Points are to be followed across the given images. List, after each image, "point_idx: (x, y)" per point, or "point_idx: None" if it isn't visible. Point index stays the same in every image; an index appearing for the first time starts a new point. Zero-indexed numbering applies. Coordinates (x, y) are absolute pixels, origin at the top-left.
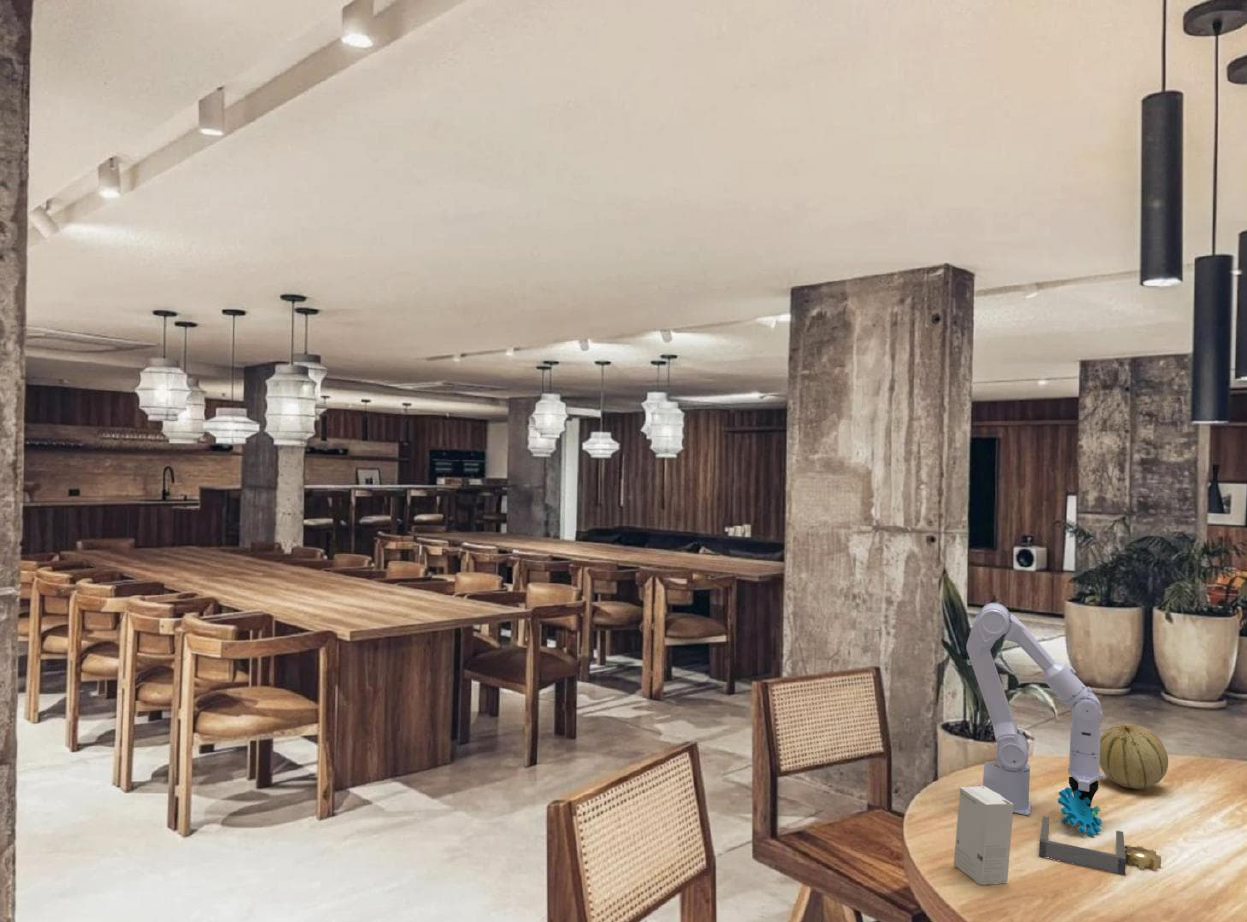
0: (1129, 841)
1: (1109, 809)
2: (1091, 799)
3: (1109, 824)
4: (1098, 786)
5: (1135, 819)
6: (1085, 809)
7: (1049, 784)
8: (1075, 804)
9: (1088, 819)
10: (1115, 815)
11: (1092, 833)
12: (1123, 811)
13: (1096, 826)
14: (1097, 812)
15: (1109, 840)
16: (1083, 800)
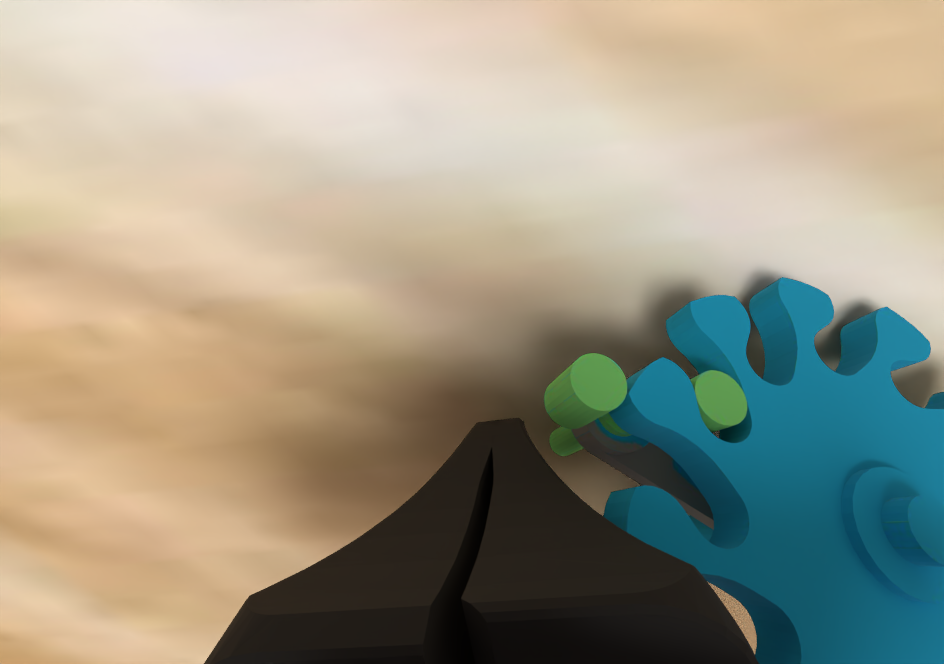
0: (800, 22)
1: (112, 298)
2: (575, 500)
3: (458, 249)
4: (559, 608)
5: (157, 77)
6: (819, 495)
7: (9, 650)
8: (933, 633)
9: (863, 414)
10: (205, 240)
11: (914, 330)
12: (57, 199)
13: (813, 323)
14: (660, 368)
15: (878, 189)
16: (749, 582)
